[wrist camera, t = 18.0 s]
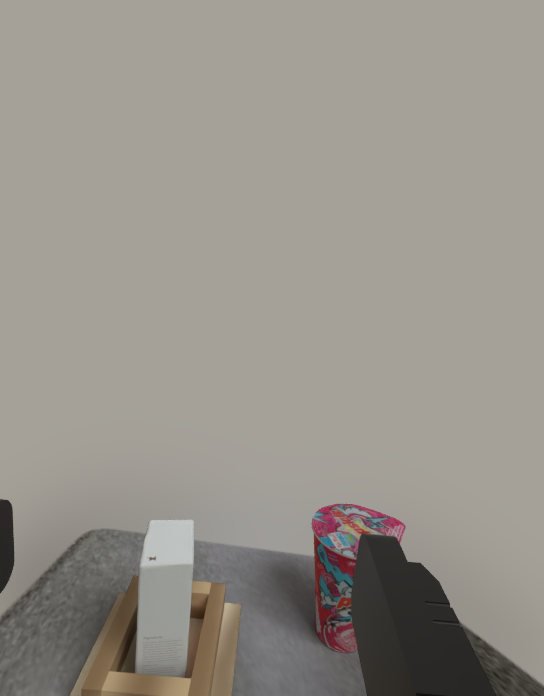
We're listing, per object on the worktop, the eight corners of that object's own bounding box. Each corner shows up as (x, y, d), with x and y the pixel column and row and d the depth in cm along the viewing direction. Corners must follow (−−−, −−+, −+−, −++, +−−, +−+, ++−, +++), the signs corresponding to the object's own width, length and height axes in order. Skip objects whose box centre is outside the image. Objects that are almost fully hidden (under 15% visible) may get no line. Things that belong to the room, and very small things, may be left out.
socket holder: (240, 612, 44) (243, 579, 43) (225, 754, 31) (228, 712, 30) (119, 601, 44) (119, 568, 43) (53, 739, 31) (52, 696, 30)
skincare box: (186, 689, 35) (194, 565, 32) (133, 694, 34) (137, 567, 31) (188, 626, 40) (195, 517, 38) (143, 629, 40) (147, 518, 37)
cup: (349, 688, 37) (368, 572, 35) (282, 624, 43) (294, 522, 40) (401, 631, 43) (420, 530, 41) (337, 582, 49) (350, 491, 47)
